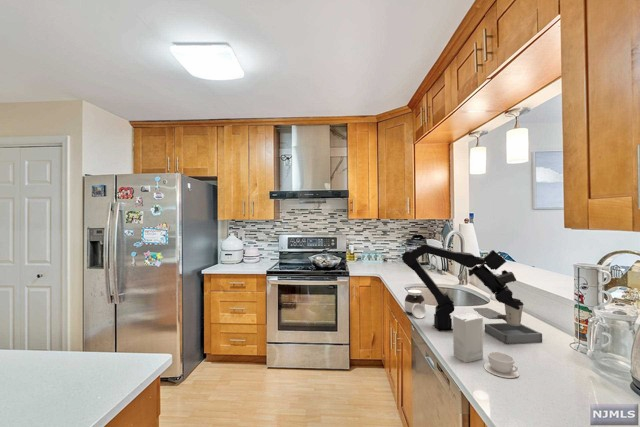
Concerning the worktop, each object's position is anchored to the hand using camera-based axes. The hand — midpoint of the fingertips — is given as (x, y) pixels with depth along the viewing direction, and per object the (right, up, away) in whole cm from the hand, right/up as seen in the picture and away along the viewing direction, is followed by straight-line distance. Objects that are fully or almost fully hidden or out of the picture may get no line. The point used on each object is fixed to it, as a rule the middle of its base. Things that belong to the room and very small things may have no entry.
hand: (517, 306), depth 122 cm
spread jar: (-32, -14, +29) cm, 46 cm away
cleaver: (+7, -14, +25) cm, 30 cm away
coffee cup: (-1, -7, 0) cm, 8 cm away
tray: (-1, -13, +1) cm, 13 cm away
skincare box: (-28, -13, -16) cm, 35 cm away
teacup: (-22, -13, -25) cm, 36 cm away
